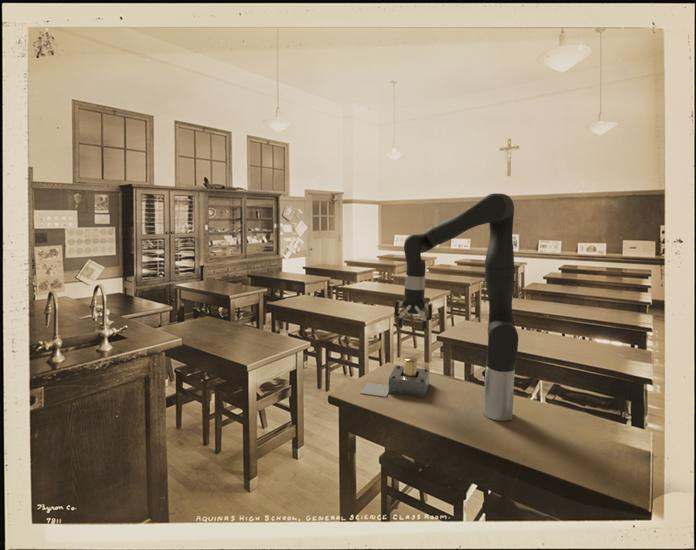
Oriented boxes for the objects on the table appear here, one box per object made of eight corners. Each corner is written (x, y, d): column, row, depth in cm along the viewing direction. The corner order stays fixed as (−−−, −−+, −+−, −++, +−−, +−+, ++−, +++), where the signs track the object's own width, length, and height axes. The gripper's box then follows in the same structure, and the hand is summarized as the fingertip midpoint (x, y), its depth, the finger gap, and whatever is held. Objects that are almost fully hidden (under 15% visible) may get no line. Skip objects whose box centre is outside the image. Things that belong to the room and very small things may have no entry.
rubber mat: (391, 386, 162) (391, 385, 162) (386, 397, 153) (386, 396, 153) (367, 383, 165) (367, 382, 165) (360, 393, 156) (360, 392, 156)
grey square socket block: (429, 383, 166) (429, 368, 165) (425, 398, 153) (426, 381, 152) (394, 379, 170) (395, 364, 169) (388, 393, 157) (388, 376, 156)
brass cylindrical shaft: (416, 386, 163) (417, 357, 161) (414, 391, 158) (415, 362, 156) (404, 384, 164) (404, 356, 163) (402, 389, 160) (403, 360, 158)
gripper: (434, 287, 156) (432, 328, 158) (398, 284, 160) (396, 324, 163) (432, 290, 149) (429, 333, 151) (394, 287, 153) (392, 329, 156)
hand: (412, 328), depth 157 cm, fingers open, 8 cm apart
